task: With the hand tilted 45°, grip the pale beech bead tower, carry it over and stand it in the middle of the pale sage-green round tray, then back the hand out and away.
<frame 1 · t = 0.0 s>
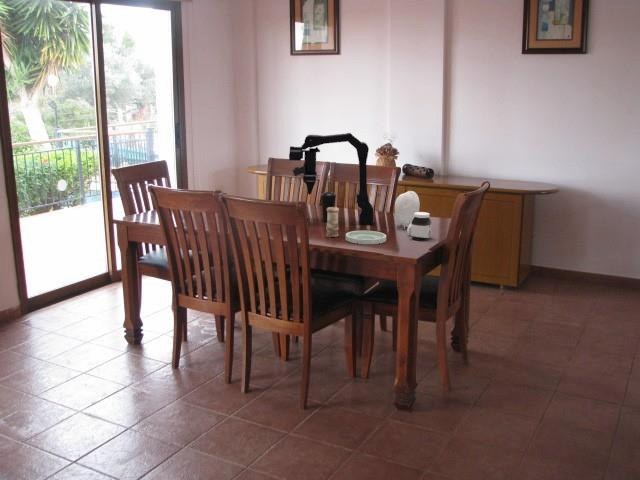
hand: (309, 192, 347), 15 cm above the table, tool pointing down, fingers open, 9 cm apart
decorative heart: (406, 227, 344), on the table
spread jar: (417, 238, 323), on the table
drinking cup: (328, 221, 353), on the table
bead tower: (332, 236, 322), on the table
round tray: (365, 239, 317), on the table
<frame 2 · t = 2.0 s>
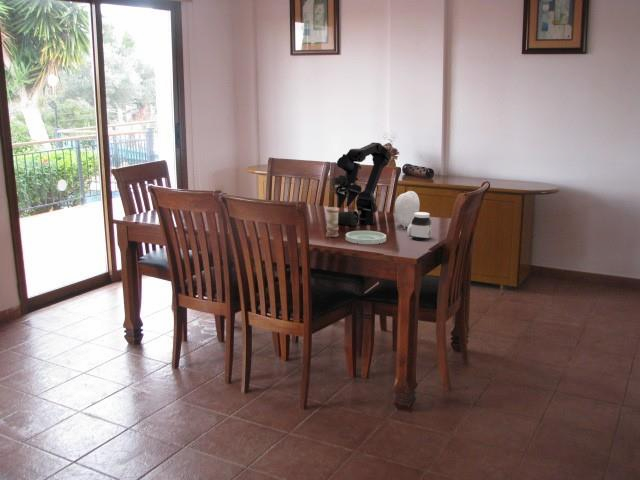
hand: (343, 206, 329), 12 cm above the table, tool tilted 25°, fingers open, 9 cm apart
drinking cup: (330, 217, 351), point 2 cm above the table
everything else where it was.
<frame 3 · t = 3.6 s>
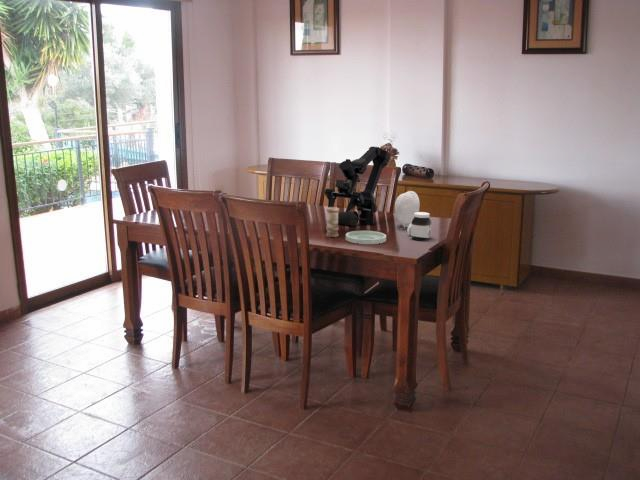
hand: (337, 210, 323), 11 cm above the table, tool tilted 45°, fingers open, 9 cm apart
nothing on the table moved.
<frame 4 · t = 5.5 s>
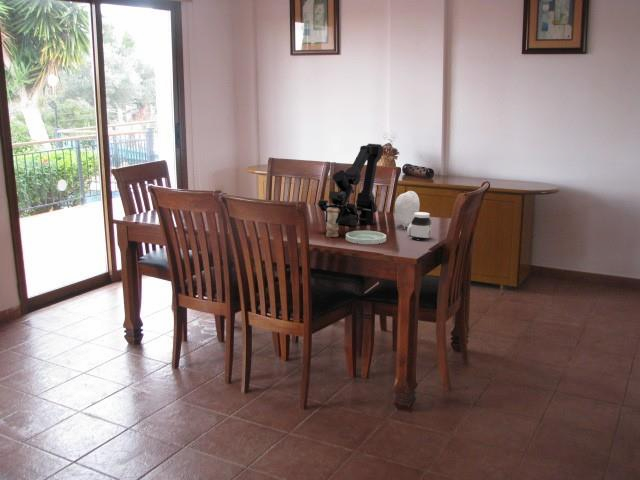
hand: (331, 222, 320), 7 cm above the table, tool tilted 45°, fingers closed on bead tower, 5 cm apart
bead tower: (332, 236, 322), on the table, touching gripper
everything else where it was.
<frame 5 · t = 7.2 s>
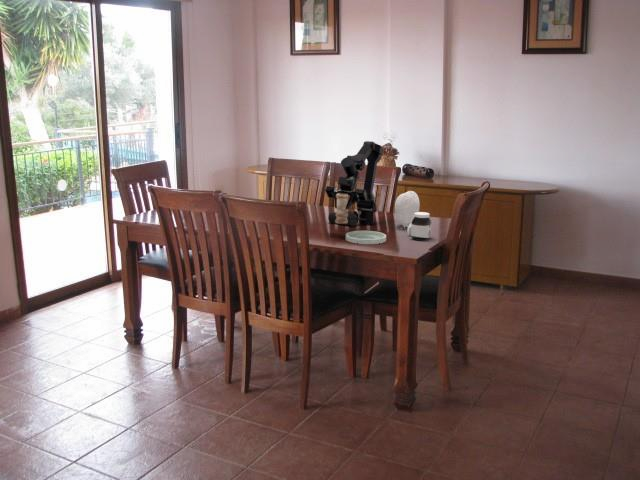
hand: (340, 208, 316), 13 cm above the table, tool tilted 45°, fingers closed on bead tower, 5 cm apart
bead tower: (341, 222, 319), point 7 cm above the table, touching gripper
everything else where it was.
when the fingers open (9 cm above the table, at t = 9.1 s): bead tower drops 1 cm, resting on round tray.
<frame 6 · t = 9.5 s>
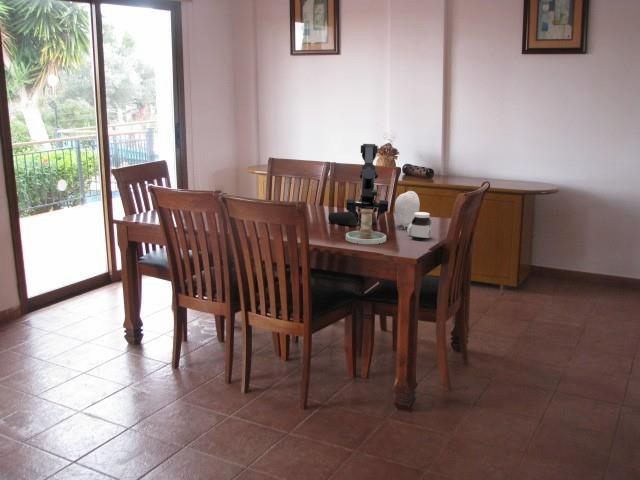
hand: (366, 221, 314), 9 cm above the table, tool tilted 45°, fingers open, 9 cm apart
bead tower: (365, 237, 317), point 1 cm above the table, touching round tray
everything else where it was.
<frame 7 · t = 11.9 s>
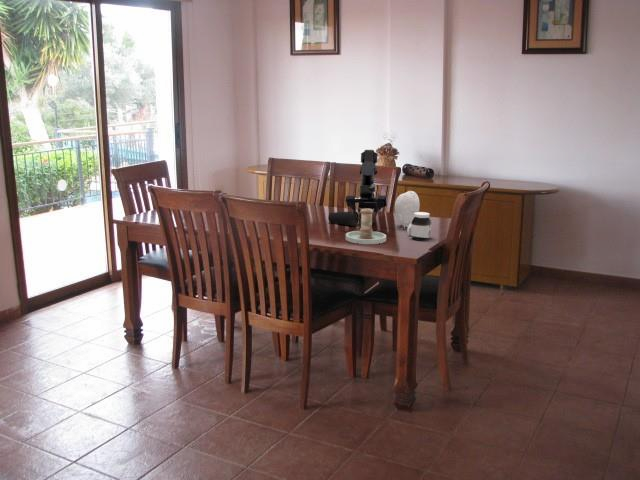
hand: (365, 216, 323), 9 cm above the table, tool tilted 45°, fingers open, 9 cm apart
nothing on the table moved.
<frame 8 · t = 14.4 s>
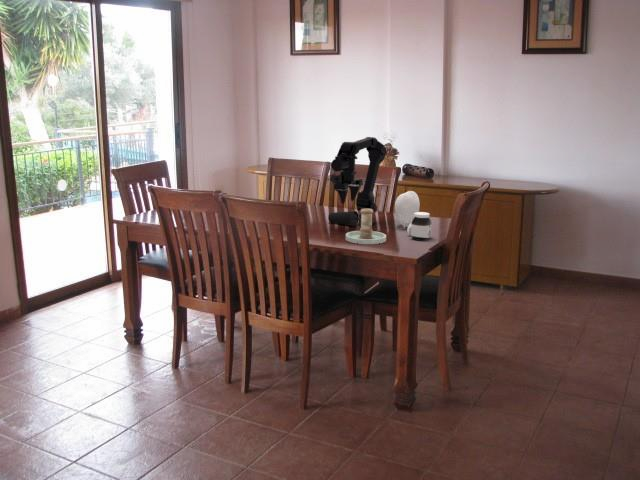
hand: (347, 202, 334), 13 cm above the table, tool pointing down, fingers open, 9 cm apart
nothing on the table moved.
at the end: bead tower inside the target area on the round tray (0.0 cm from its centre), point 0.7 cm above the round tray's base; bead tower tilted 0°; the gripper is holding nothing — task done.
